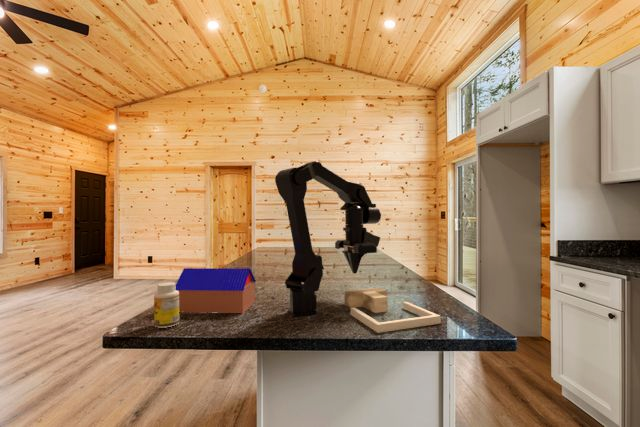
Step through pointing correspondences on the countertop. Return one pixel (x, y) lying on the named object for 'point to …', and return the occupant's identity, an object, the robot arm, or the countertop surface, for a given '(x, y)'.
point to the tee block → (367, 299)
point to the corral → (424, 320)
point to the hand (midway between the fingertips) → (354, 273)
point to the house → (216, 290)
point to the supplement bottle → (166, 305)
